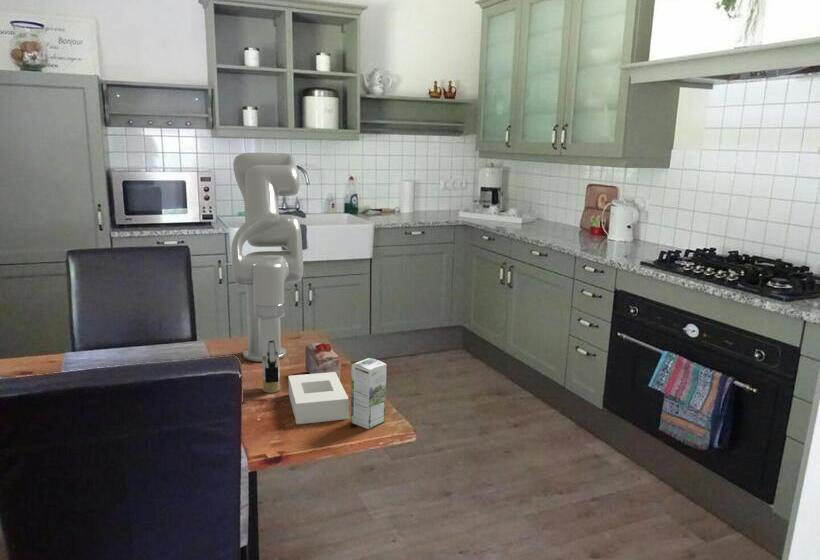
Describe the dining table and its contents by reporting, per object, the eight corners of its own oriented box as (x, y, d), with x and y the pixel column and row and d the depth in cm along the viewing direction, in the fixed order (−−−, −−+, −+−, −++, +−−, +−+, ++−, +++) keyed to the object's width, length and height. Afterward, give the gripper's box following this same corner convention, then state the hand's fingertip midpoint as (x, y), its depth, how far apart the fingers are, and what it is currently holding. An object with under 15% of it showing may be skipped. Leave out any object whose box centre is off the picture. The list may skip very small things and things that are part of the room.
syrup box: (367, 415, 145) (367, 356, 142) (386, 422, 141) (386, 362, 138) (350, 422, 141) (350, 362, 138) (369, 430, 137) (369, 369, 134)
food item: (344, 385, 164) (344, 349, 161) (315, 389, 160) (315, 353, 158) (327, 368, 175) (327, 335, 173) (300, 372, 172) (300, 338, 170)
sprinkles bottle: (283, 391, 158) (282, 341, 156) (266, 394, 156) (264, 343, 153) (276, 385, 162) (275, 336, 159) (259, 388, 160) (258, 339, 157)
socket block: (288, 394, 156) (288, 375, 155) (335, 390, 160) (335, 371, 159) (296, 424, 139) (296, 403, 138) (348, 418, 143) (348, 398, 142)
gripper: (252, 302, 161) (254, 368, 165) (255, 319, 146) (257, 392, 149) (281, 301, 163) (283, 366, 167) (287, 317, 148) (289, 389, 151)
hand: (271, 377), depth 158 cm, fingers closed on sprinkles bottle, 4 cm apart
